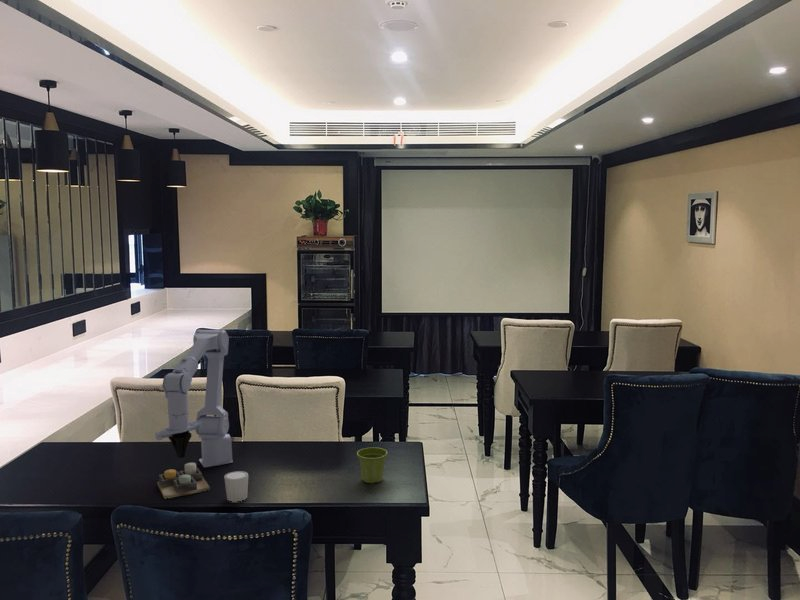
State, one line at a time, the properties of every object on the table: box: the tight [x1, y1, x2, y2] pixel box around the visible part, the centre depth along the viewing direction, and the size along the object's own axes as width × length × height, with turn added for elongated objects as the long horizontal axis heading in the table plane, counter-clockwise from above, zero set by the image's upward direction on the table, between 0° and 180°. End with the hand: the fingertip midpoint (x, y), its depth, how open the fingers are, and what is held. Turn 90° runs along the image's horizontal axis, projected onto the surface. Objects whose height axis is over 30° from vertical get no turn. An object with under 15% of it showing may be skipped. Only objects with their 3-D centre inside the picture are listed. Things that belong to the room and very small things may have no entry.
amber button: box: [163, 468, 177, 480], centre depth 209 cm, size 3×3×3 cm
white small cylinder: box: [184, 462, 197, 475], centre depth 212 cm, size 3×3×3 cm
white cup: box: [223, 470, 249, 503], centre depth 199 cm, size 7×7×7 cm
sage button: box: [179, 474, 191, 485], centre depth 205 cm, size 3×3×3 cm
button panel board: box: [156, 467, 211, 500], centre depth 208 cm, size 13×12×3 cm
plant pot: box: [356, 447, 388, 484], centre depth 211 cm, size 9×9×9 cm
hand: (180, 456), depth 207 cm, fingers closed
